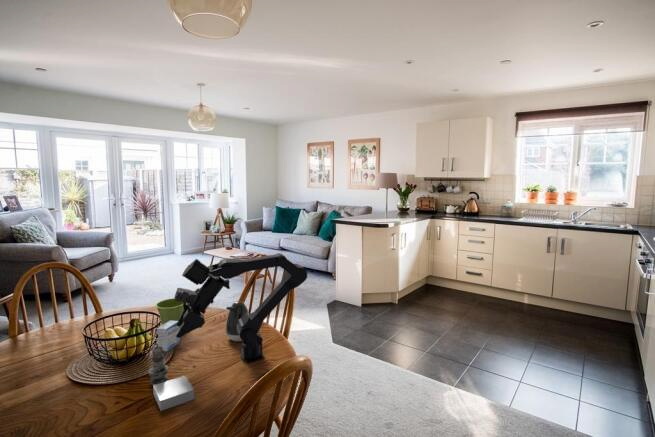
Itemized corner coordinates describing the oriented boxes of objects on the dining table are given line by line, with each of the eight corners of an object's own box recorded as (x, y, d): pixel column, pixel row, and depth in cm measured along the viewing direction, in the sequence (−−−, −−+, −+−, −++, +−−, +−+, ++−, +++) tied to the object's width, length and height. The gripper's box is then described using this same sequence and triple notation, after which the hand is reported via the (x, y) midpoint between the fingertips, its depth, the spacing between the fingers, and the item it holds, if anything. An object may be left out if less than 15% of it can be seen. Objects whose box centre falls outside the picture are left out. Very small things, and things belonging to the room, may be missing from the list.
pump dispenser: (220, 339, 142) (219, 301, 140) (241, 330, 150) (241, 295, 148) (235, 347, 135) (234, 308, 134) (257, 338, 143) (256, 301, 142)
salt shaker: (153, 375, 116) (151, 339, 115) (171, 374, 116) (170, 339, 115) (145, 385, 110) (143, 348, 109) (165, 385, 111) (163, 348, 109)
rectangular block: (185, 384, 111) (185, 375, 111) (194, 399, 104) (193, 389, 103) (153, 395, 106) (153, 385, 105) (160, 411, 98) (160, 400, 98)
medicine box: (167, 352, 131) (166, 329, 130) (156, 350, 132) (155, 328, 131) (180, 342, 139) (179, 320, 138) (170, 341, 140) (169, 319, 139)
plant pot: (167, 322, 158) (166, 297, 157) (192, 323, 156) (191, 298, 155) (150, 333, 146) (149, 307, 145) (177, 335, 145) (176, 308, 143)
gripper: (187, 271, 125) (157, 308, 123) (188, 287, 108) (153, 330, 106) (213, 288, 129) (185, 324, 127) (218, 306, 112) (185, 348, 110)
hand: (177, 331), depth 117 cm, fingers open, 9 cm apart
